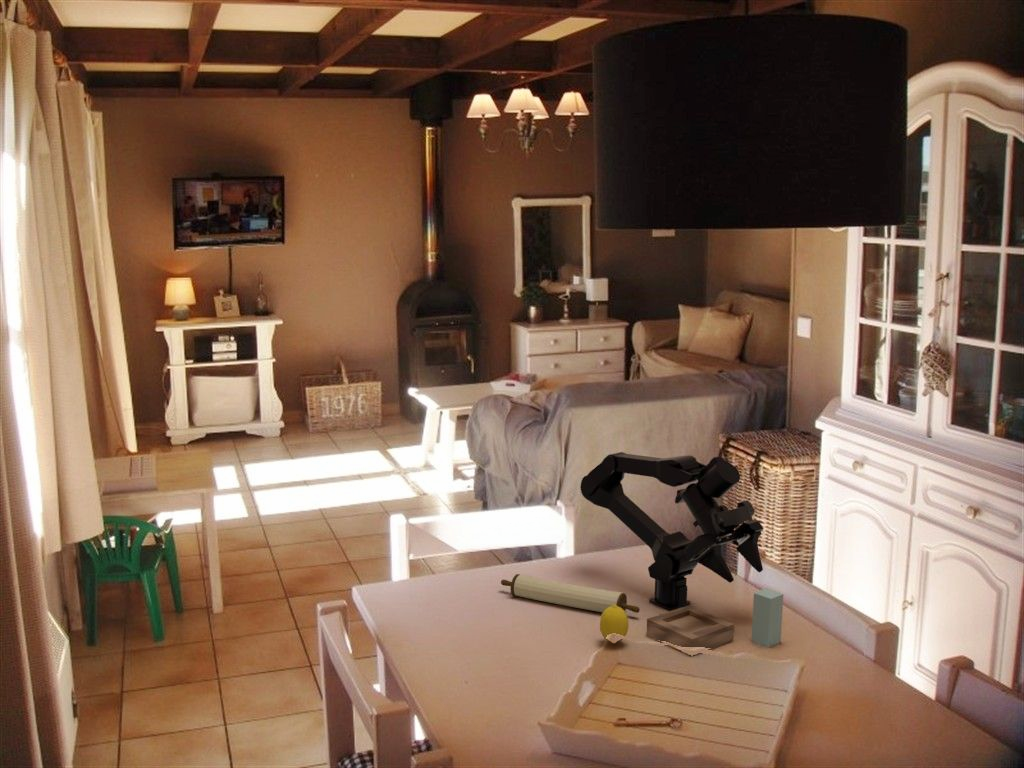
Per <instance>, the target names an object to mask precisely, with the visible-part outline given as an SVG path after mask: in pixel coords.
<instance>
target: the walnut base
mask: <svg viewBox="0 0 1024 768" xmlns="http://www.w3.org/2000/svg"><path fill="white" fill-rule="evenodd" d="M734 636H735V624H734V623H732V622H730V621H728V620H725V619H723V618H721V617H719V616H715V615H713V614H712V613H710V612H706V611H705V610H704V611H703V610H701V609H699V608H696V607H694V606H691V604H689V605H686V606H683V607H680V608H677V609H674V610H669V611H667V612H664V613H661V614H658V615H657V614H656V615H654V616H653V617H652V616H651V617H649V618H646V637H649V638H651V639H653V640H655V641H657V640H660V641H666V642H669V643H671V644H673V645H677V646H681V647H705V648H711V649H710V650H713V649H715V648H718V647H721V646H724V645H726V644H729V643H732V642H734Z"/></svg>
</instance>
